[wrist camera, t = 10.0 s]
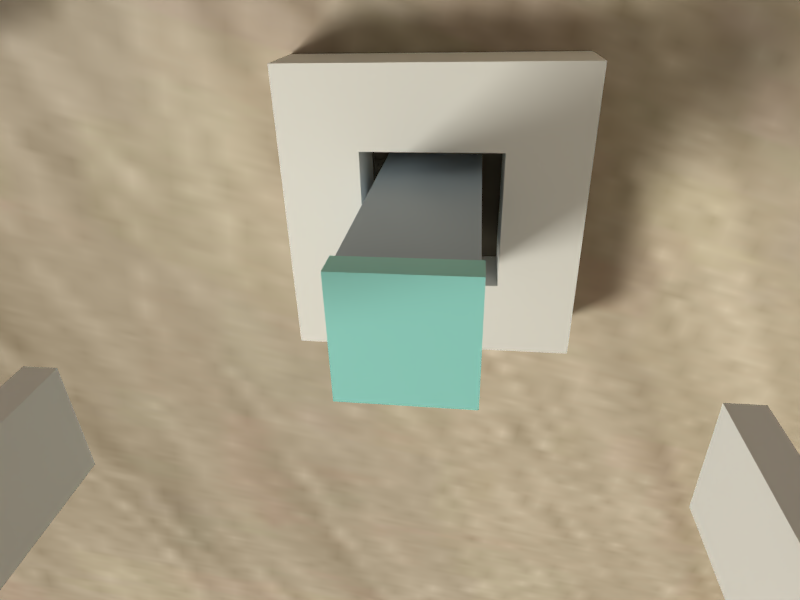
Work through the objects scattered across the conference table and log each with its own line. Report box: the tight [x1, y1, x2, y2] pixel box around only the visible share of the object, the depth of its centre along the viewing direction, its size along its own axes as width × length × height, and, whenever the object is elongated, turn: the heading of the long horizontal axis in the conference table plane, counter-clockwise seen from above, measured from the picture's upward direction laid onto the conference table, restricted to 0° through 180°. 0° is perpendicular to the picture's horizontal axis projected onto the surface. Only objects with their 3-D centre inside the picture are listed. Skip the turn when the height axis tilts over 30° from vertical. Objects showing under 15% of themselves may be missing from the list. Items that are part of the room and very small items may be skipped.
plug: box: [321, 153, 486, 410], centre depth 21 cm, size 4×4×12 cm
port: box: [268, 51, 607, 354], centre depth 25 cm, size 12×12×3 cm
